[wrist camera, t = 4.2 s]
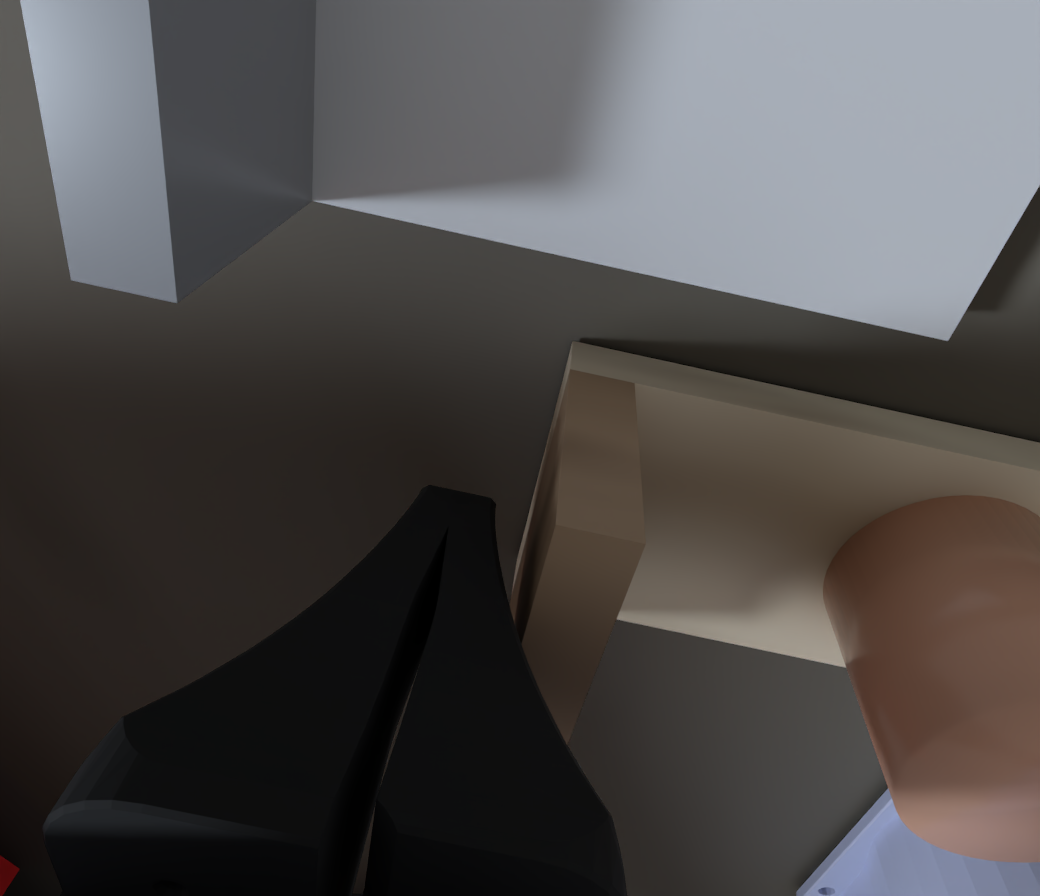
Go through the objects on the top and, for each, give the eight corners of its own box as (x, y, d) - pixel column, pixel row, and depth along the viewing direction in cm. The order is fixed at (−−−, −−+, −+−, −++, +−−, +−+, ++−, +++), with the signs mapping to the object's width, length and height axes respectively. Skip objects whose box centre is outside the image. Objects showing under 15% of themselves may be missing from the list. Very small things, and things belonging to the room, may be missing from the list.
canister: (981, 671, 16) (1095, 883, 12) (788, 631, 16) (845, 831, 12) (1111, 523, 13) (1307, 732, 10) (884, 473, 13) (991, 665, 10)
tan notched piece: (992, 661, 17) (1133, 910, 13) (516, 561, 17) (483, 777, 12) (1161, 469, 14) (1435, 711, 9) (572, 340, 14) (555, 524, 9)
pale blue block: (921, 312, 13) (1101, 503, 8) (268, 168, 13) (71, 280, 8) (1147, -98, 9) (1672, -171, 5) (263, -307, 9) (-88, -597, 5)
